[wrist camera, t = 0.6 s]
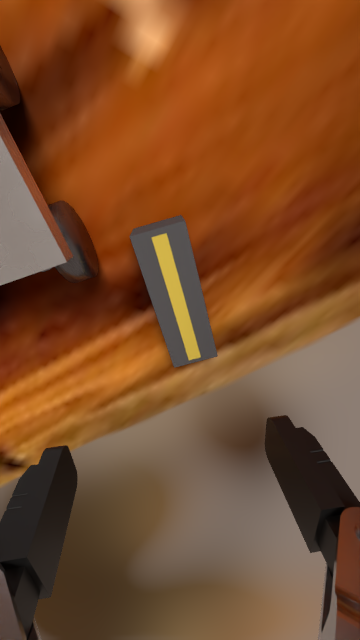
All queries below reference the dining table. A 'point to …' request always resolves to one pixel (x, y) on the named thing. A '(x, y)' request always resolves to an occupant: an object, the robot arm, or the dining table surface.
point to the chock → (175, 289)
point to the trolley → (35, 213)
